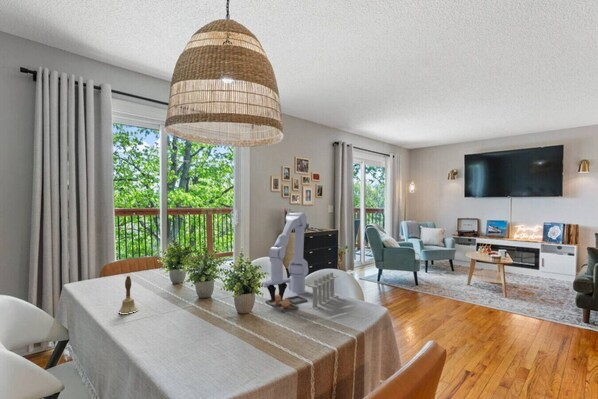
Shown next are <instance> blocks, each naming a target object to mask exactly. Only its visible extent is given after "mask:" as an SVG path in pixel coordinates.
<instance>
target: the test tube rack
mask: <svg viewBox="0 0 598 399" xmlns="http://www.w3.org/2000/svg"><path fill="white" fill-rule="evenodd" d="M338 277H339V276H338V275H334V272H332V271H330V272H329V273H326V274H325V275H322V277H318V279H314V280H313V283H310V284H309V285H308V286H307V287H309V288H311V289H312V304H311V305H310V306H309V307H308V309H309V310H310V309H311V310H314V311H317V310H318V309H320V308H322V307H323V306H324V305H326V304H327V303H329V302H331V301H332V300H334V299H336V298H338V297H339V294H335V279H336V278H338Z"/></svg>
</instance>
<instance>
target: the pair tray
mask: <svg viewBox="0 0 598 399" xmlns="http://www.w3.org/2000/svg"><path fill="white" fill-rule="evenodd" d="M283 300H284V298H283V299H281V301H280V302H279V303H275V302H274V301H272V300H271V299H268V300H265V303H266V304H267V305H268V306H271V307H272V308H274V309H276V310H278V311H280V312H282V313H285V312H286V313H288V312H290V311H294V310H298V308H299V307H298V306H297V304H292V303H290V306H289V307H288V308H283V307H282V305H281V302H282V301H283Z"/></svg>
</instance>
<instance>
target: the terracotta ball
mask: <svg viewBox="0 0 598 399" xmlns="http://www.w3.org/2000/svg"><path fill="white" fill-rule="evenodd" d="M280 301H281V296H280V295H279V293H277V294H276V293H275V301H274V302H275V303H279V302H280Z"/></svg>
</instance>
